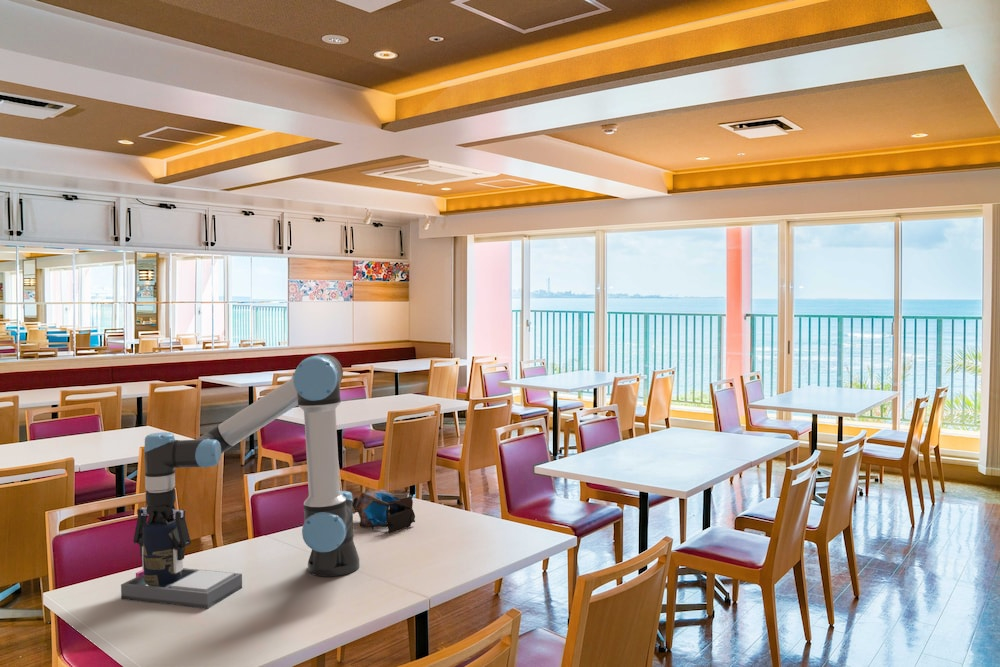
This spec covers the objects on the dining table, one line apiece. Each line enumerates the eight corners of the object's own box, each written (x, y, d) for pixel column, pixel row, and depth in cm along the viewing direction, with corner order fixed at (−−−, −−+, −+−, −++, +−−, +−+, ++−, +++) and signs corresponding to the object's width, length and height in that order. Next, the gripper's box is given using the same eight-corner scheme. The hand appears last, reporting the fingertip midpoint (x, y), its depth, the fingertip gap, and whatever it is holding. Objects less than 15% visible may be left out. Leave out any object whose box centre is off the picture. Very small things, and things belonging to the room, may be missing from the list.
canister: (167, 590, 199) (165, 523, 198) (136, 587, 201) (134, 522, 200) (189, 577, 208) (187, 514, 208) (159, 575, 210) (157, 512, 209)
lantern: (404, 547, 260) (354, 532, 274) (425, 506, 268) (375, 493, 282) (380, 526, 249) (330, 511, 264) (403, 484, 257) (352, 472, 272)
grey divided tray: (242, 587, 206) (241, 569, 206) (207, 608, 192) (207, 589, 192) (160, 579, 213) (159, 561, 213) (121, 599, 199) (120, 580, 199)
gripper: (203, 488, 204) (205, 568, 205) (136, 484, 210) (139, 562, 211) (185, 494, 197) (187, 577, 198) (116, 490, 203) (119, 571, 203)
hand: (162, 569), depth 204 cm, fingers closed on canister, 9 cm apart
